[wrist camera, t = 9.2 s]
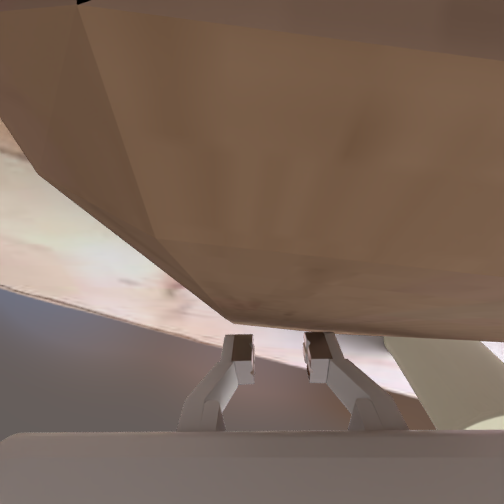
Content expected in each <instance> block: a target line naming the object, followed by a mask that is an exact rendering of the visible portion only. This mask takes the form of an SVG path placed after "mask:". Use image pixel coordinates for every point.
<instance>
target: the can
mask: <svg viewBox="0 0 504 504" xmlns="http://www.w3.org/2000/svg"><path fill="white" fill-rule="evenodd" d="M384 345H385V347H386V349H387V350H388V351H389V352H390V353H391V355H392V356H393V358H394V359H395V361H396V363H397V364H398V366H399V367H400V369H401V371H402V372H403V374H404V376H405V377H406V379H407V381H408V382H409V384H410V386H411V387H412V389H413V391H414V392H415V394H416V396H417V397H418V399H419V400H420V402H421V403H422V405H423V407H424V409H425V410H426V412H427V414H428V416H429V417H430V419H431V421H432V422H433V424H434V426H435V427H436V429H437V430H504V363H503V362H502V361H501V360H500V359H499V358H498V357H497V356H496V355H495V354H493V353H492V352H491V351H490V350H489V349H488V348H487V347H486V346H485V345H484V344H483V343H481V342H480V341H471V340H450V339H430V338H410V337H390V336H384Z"/></svg>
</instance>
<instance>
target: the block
mask: <svg viewBox="0 0 504 504" xmlns="http://www.w3.org/2000/svg"><path fill="white" fill-rule="evenodd" d="M0 118H1V119H2V121H3V122H4V124H5V125H6V127H7V128H8V130H9V131H10V133H11V134H12V136H13V137H14V139H15V140H16V142H17V143H18V145H19V146H20V148H21V149H22V151H23V152H24V154H25V155H26V157H27V158H28V160H29V161H30V163H31V164H32V166H33V167H34V169H35V170H36V172H37V173H38V175H40V176H41V177H42V178H43V179H45V180H46V181H47V182H49V183H50V184H51V185H53V186H54V187H55V188H56V189H58V190H59V191H60V192H62V193H63V194H64V195H66V196H67V197H68V198H69V199H71V200H72V201H73V202H75V203H76V204H77V205H79V206H80V207H81V208H82V209H84V210H85V211H86V212H88V213H89V214H90V215H92V216H93V217H94V218H95V219H97V220H98V221H99V222H101V223H102V224H103V225H105V226H106V227H107V228H108V229H110V230H111V231H112V232H114V233H115V234H116V235H118V236H119V237H120V238H121V239H123V240H124V241H125V242H127V243H128V244H129V245H131V246H132V247H133V248H134V249H136V250H137V251H138V252H140V253H141V254H142V255H144V256H145V257H146V258H147V259H149V260H150V261H151V262H153V263H154V264H155V265H157V266H158V267H159V268H160V269H162V270H163V271H164V272H166V273H167V274H168V275H170V276H171V277H172V278H173V279H175V280H176V281H177V282H179V283H180V284H181V285H182V286H184V287H185V288H186V289H188V290H189V291H190V292H192V293H193V294H194V295H195V296H197V297H198V298H199V299H201V300H202V301H203V302H205V303H206V304H207V305H208V306H210V307H211V308H212V309H214V310H215V311H216V312H218V313H219V314H220V315H221V316H223V317H224V318H225V319H227V320H229V321H230V322H232V323H234V324H242V325H251V326H261V327H271V328H280V329H290V330H299V331H309V332H330V331H333V332H334V334H349V335H369V336H390V337H410V338H430V339H450V340H471V341H491V342H504V0H0Z"/></svg>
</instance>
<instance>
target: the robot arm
mask: <svg viewBox="0 0 504 504" xmlns="http://www.w3.org/2000/svg"><path fill="white" fill-rule="evenodd" d="M303 338H304V343H303V354H304V360H305V363H306V364H307V374H308V378H309V382H310V383H327V385H328V386H329V387H330V388H331V390H332V391H333V392H334V394H335V395H336V396H337V397H338V398H339V399H340V401H341V402H342V403H343V404H344V406H345V407H346V408H347V409H348V411H349V412H351V414H352V416H351V420H350V423H349V427H348V431H226V427H225V424H224V419H223V415H222V412H223V410H224V408H225V407H226V405H227V403H228V402H229V400H230V398H231V397H232V395H233V393H234V392H235V390H236V388H237V387H238V385H242V384H254V375H255V371H254V363H255V350H254V344H253V341H254V339H253V334H238V335H225V338H224V343H223V349H222V355H221V361H220V362H217V364H215V366H214V367H213V368H212V369H211V370H210V371H209V373H208V374H207V375H206V376H205V377H204V378H203V380H202V381H201V382H200V383H199V384H198V385H197V387H196V388H195V389H194V390H193V391H192V392H191V394H190V395H189V396H188V397H187V398H186V399H185V402H184V406H183V409H182V413H181V416H180V420H179V423H178V426H177V430H176V432H60V433H57V432H55V433H54V432H53V433H51V432H49V433H17V434H14V435H11V436H9V437H8V438H6V439H4V440H3V441H1V442H0V504H504V430H409V429H408V426H407V424H406V423H405V421H404V419H403V417H402V415H401V413H400V411H399V409H398V407H397V406H396V404H395V402H394V400H393V398H392V397H391V396H390V395H389V394H388V393H387V392H386V391H384V390H383V389H382V388H381V387H380V386H379V385H377V384H376V383H375V382H374V381H373V380H372V379H370V378H369V377H368V376H367V375H366V374H365V373H363V372H362V371H361V370H360V369H359V368H358V367H356V366H355V365H354V364H353V363H352V362H351V361H349V360H348V359H344V356H343V354H342V351H341V349H340V346H339V344H338V342H337V339H336V337H335V334H334V332H333V331H330V332H304V336H303Z"/></svg>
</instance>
